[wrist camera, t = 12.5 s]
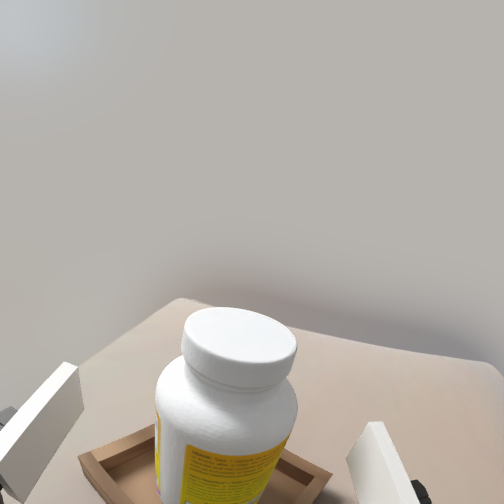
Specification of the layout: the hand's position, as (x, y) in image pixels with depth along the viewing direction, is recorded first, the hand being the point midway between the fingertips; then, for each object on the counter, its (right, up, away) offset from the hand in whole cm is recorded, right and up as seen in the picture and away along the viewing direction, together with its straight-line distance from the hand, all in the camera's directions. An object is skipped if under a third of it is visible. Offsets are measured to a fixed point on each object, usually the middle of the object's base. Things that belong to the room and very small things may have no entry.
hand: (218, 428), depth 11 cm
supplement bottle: (-2, -8, +4) cm, 9 cm away
